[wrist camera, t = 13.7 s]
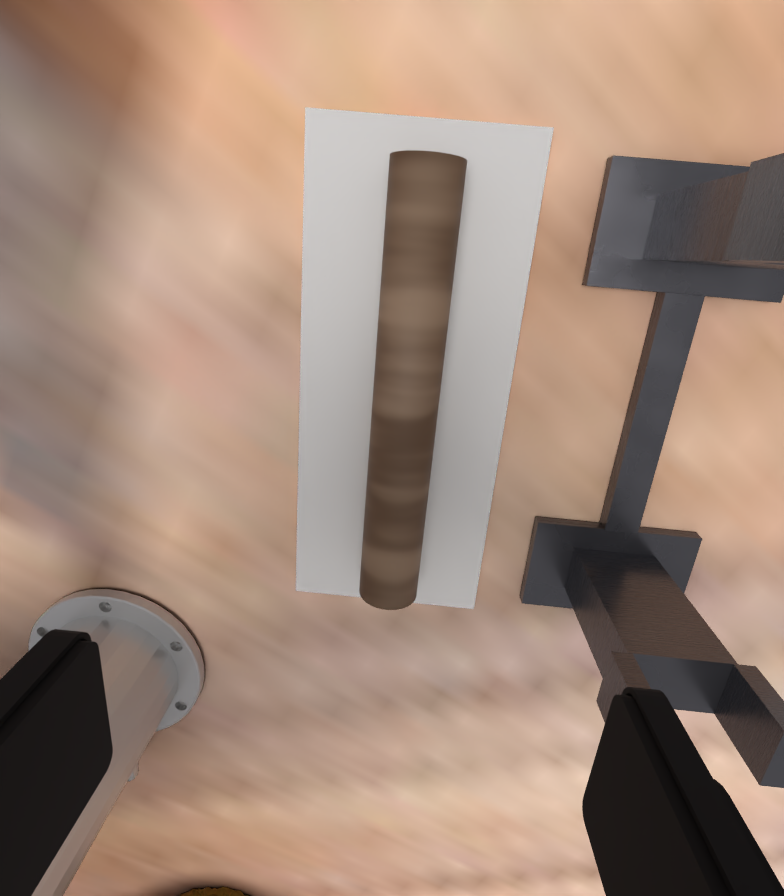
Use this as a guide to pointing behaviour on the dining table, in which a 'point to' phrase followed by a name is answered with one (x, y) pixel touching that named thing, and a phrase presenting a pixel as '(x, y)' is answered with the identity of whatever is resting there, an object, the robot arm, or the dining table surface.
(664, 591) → the rack
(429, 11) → the dining table surface
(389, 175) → the rod
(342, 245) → the mat
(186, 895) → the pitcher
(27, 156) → the dining table surface
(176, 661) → the robot arm
